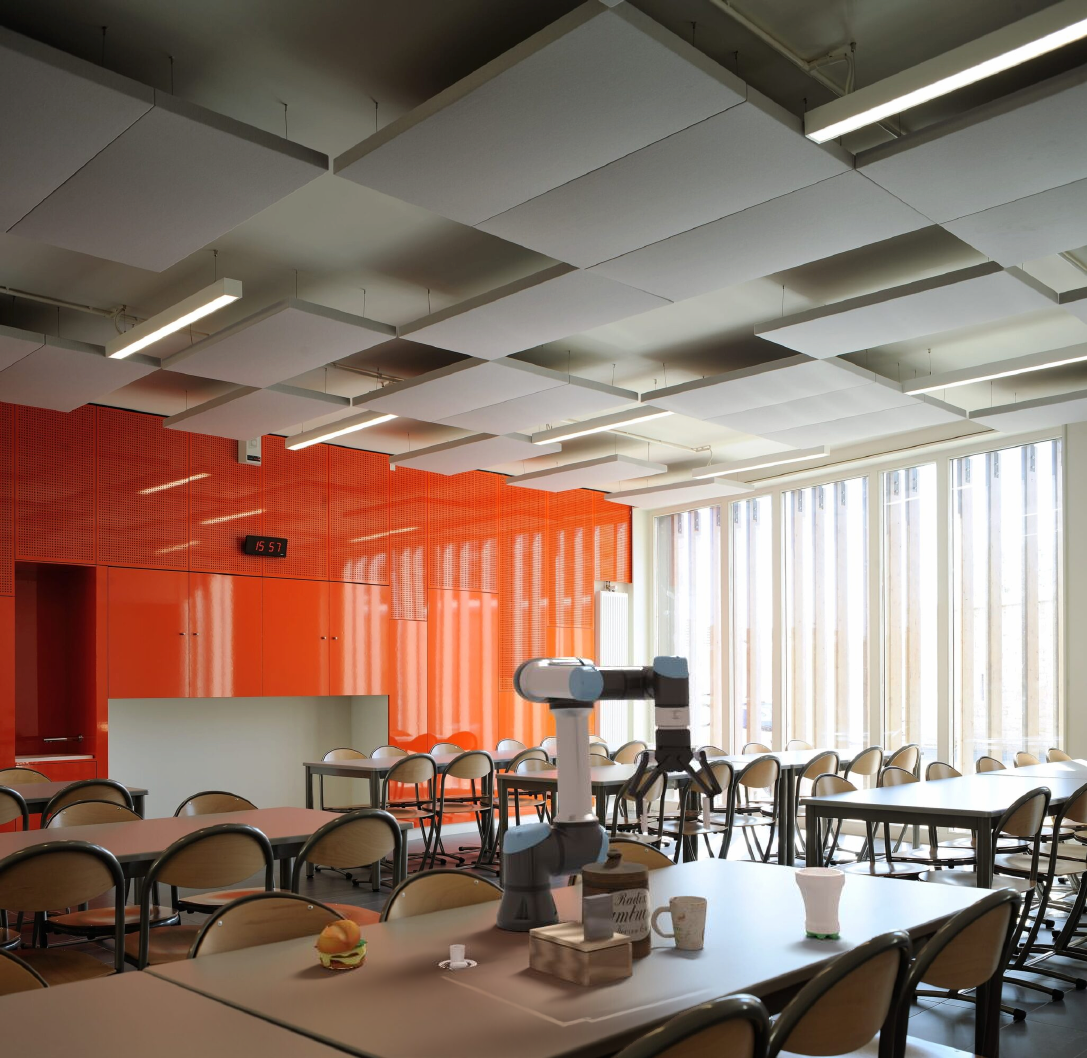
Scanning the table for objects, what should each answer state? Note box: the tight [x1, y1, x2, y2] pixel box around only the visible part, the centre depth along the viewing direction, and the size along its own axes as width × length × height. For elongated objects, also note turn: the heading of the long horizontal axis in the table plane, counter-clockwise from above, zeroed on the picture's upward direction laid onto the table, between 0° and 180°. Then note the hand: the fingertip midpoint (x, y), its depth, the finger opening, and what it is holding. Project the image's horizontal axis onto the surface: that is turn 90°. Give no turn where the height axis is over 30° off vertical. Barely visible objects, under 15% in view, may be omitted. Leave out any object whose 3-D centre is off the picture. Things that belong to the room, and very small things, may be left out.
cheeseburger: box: [314, 919, 368, 968], centre depth 213 cm, size 10×11×10 cm
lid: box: [529, 894, 631, 952], centre depth 206 cm, size 18×12×9 cm, turn 38°
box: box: [528, 935, 634, 987], centre depth 204 cm, size 18×12×6 cm, turn 38°
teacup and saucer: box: [438, 944, 478, 971], centre depth 212 cm, size 9×8×4 cm
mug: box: [650, 895, 708, 951], centre depth 226 cm, size 8×13×10 cm, turn 78°
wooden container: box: [581, 847, 652, 960], centre depth 221 cm, size 15×15×22 cm
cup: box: [794, 866, 846, 940], centre depth 234 cm, size 11×11×14 cm
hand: (675, 830), depth 215 cm, fingers open, 13 cm apart
